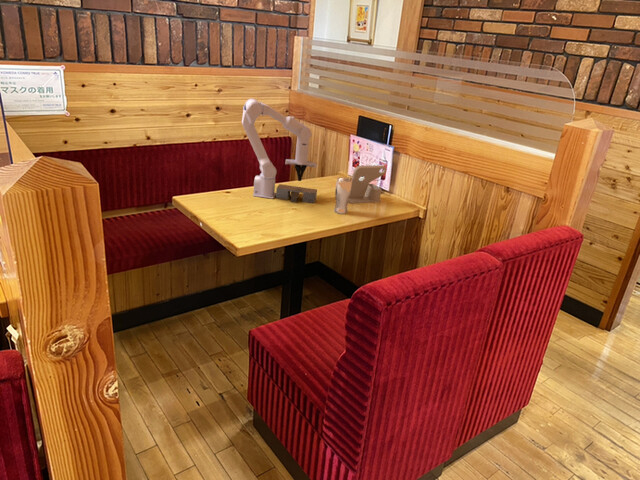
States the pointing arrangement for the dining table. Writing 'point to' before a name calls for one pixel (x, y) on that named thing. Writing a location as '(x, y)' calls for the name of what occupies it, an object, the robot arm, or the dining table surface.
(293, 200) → the plug
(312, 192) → the block
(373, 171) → the phone holder
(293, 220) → the dining table surface
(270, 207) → the dining table surface
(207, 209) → the dining table surface
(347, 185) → the beer glass
